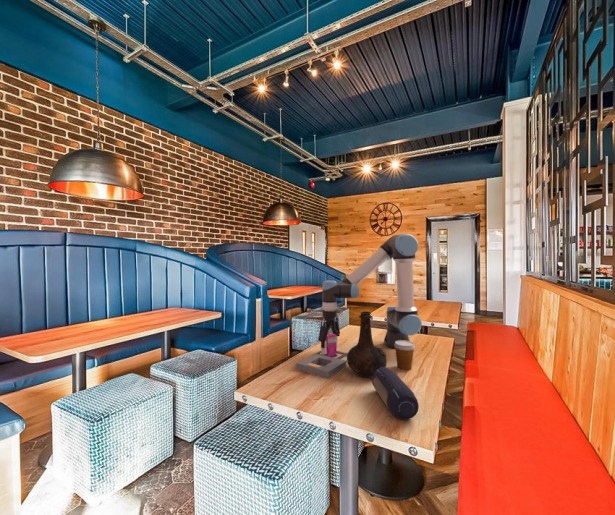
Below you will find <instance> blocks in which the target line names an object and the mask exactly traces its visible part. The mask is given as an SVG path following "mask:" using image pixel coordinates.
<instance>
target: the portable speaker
mask: <svg viewBox="0 0 615 515" xmlns="http://www.w3.org/2000/svg"><path fill="white" fill-rule="evenodd" d="M371 378H372V379H371V383H372V386H373V388H374V389H375V391H376V392H377V394H378V395H379V397H380V398H381V400H382V401H383V403H384V404H385V406H386V407H387V409H388V411H389V412H390V413H391V414H392V415H393V416H395V417H396V418H398V419H400V420H409V419H412V418H414V417H415V416H417V413H418V411H419V406H420V404H419V402H418V399H417V397H416V395H415V392H413V390H412V389H411V388H409V386H408V385H407V384H406V383H405V382H404V381H403V380H402V379H401V378H400V377H399V375H398V374H397V373H396V372H395V371H393V369H390V368H388V367H387V366H386V367H382V368H379V369H377V370H376V371H375V372H374V374H373V376H372V377H371Z"/></svg>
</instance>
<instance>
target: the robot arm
mask: <svg viewBox="0 0 615 515" xmlns="http://www.w3.org/2000/svg"><path fill="white" fill-rule="evenodd" d="M418 250H419V242H418V240H417V238H416V237H415V236H414V235H412V234H409V233H400V234H396V235H395V234H394V235H392V236H391V237H389V238H388V239H386V241H384V242H383V243H382V244H381V245H380V246H379V247H378V250H377V251H376V252H375V253H373V254H372V255H371V256H370V257H368V258H367V259H366V260H365V261H364V262H363V263H361V264H360V265H359V266H358V267H356V268H355V269H354V270H353V271H352V272H350V274H348V275H347V276H346V277H344V278H343V279H342V280H340V281H338V282H337V281H336V280H331V279H330V280H324V281H323V282H322V287H321V288H322V289H321V291H322V299H321V300H322V304H321V305H322V311H321V312H322V318H323V319H324V320H323V321H322V320H321V321H320V328H319V334H318V339H317V341H318V342H320V351H321V354H320V355H323V354H326V341H325V340H326V337H327V334H328V333H329V331H330V330H331V333H333V334H335V335H336V340H337V349H338V348H339V346H338V342H339V341H338V339H339V338H338V337H341V336H340V334H341V330H340V325H339V318H338V317H337V315H338V314H337V312H338V311H337V309H338V306H337V299H352V300H353V299H357V298H359V296H360V287H359V284H361V282H362V281H364V280H365V279H366V278H368V277H369V276H370V275H371V274H372V273H373V272H375V271H376V270H377V269H379V267H380V266H382V265H383V264H384V263H385V262H387V261H391V260H393V261H394V262H395V272H396V273H395V274H396V292H397V293H396V294H397V296H396V298H397V305H391V306H390V305H389V306H387V307H386V312H385V313H386V332H385V335H384V338H383V345H384V346H385V347H387V348H390V349H395V346H394V344H395V342H396V341H399V340H405V341H410V342H411V340H410V337H409V336H415V335H416V334H418V333H419V332H420V331H421V329H422V320H421V317H419V316H418V315H419V314H418V312H419V311H418V308H417V307H416V306H415V291H414V287H415V286H414V269H413V268H414V266H413V265H414V264H413V263H414V261H415V260H416V253H417V252H418Z"/></svg>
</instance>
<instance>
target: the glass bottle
mask: <svg viewBox="0 0 615 515" xmlns="http://www.w3.org/2000/svg"><path fill="white" fill-rule="evenodd" d="M371 313H372V312H371V311H361V312H360V315H359V316H358V318H360V325H359V335H358V342H357V344H356V345H354V346H353V347H351V348H350V349H349V351H348V352H347V353H348V354H347V356H346V364H347V365H348V367H349V369H350V370H351V371H352V372H353V373H354V374H355V375H357V376H360V377H364V378H372V376H373V374H374V372H375V371H376V370H377V369H379V368H382V367H386V368H387V354H386V352H385V350H384V349H383V348H380V347H379V346H376V345H375V344H374V340H373V337H372V336H373V335H372V324H371V323H372V322H371V321H372V320H371V319H372V318H373V315H371Z"/></svg>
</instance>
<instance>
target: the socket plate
mask: <svg viewBox="0 0 615 515" xmlns="http://www.w3.org/2000/svg"><path fill="white" fill-rule="evenodd" d="M316 353H317V352H315V353H313V354H312V355H308V356H307V357H305V358H303V359H302V360H299V361H297V362H296V363H295V367H296V368H295V370H297V369H298V371H301V372H304V373H307V372H308V374H311V375H314V374H315V375H314V376H318V375H319V376H318V377H321V376H322V378H324V377H325V379H330V378H332V377H333V376H335V375H336V374H338V373H339V372H341V371H343V370H345V369H346V368H347V360H345V359H344V360H343V359H336V358H337V357H328V356H325V355H323V354H316ZM317 364H318V365H317ZM322 364H323V365H322ZM342 369H343V370H342ZM331 376H332V377H331Z"/></svg>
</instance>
